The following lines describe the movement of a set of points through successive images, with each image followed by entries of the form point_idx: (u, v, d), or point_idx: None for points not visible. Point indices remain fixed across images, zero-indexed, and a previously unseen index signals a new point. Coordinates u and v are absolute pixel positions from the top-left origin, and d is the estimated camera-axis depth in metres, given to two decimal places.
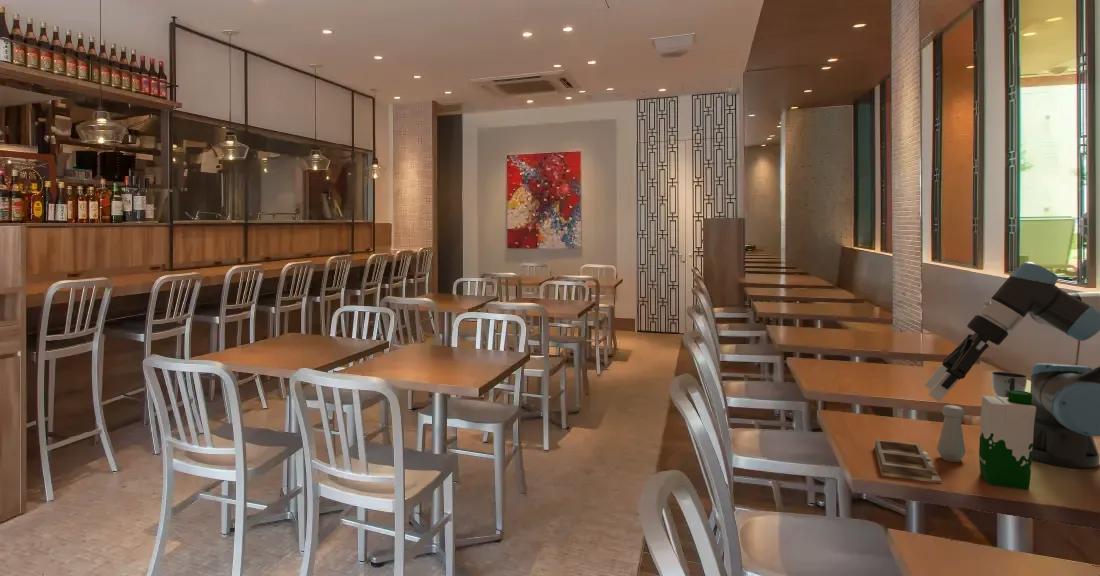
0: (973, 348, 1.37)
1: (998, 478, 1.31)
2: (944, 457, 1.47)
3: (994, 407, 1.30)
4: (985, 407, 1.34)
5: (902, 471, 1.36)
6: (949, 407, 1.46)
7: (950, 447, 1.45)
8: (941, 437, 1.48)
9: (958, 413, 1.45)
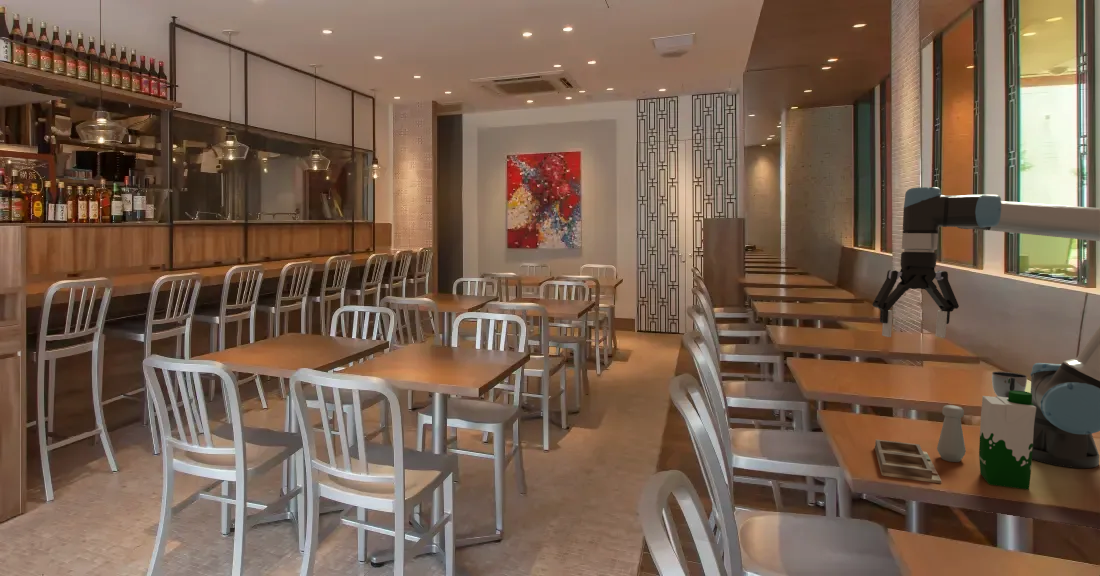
0: (887, 279, 1.51)
1: (998, 478, 1.31)
2: (944, 457, 1.47)
3: (994, 407, 1.30)
4: (985, 407, 1.34)
5: (902, 471, 1.36)
6: (949, 407, 1.46)
7: (950, 447, 1.45)
8: (941, 437, 1.48)
9: (958, 413, 1.45)
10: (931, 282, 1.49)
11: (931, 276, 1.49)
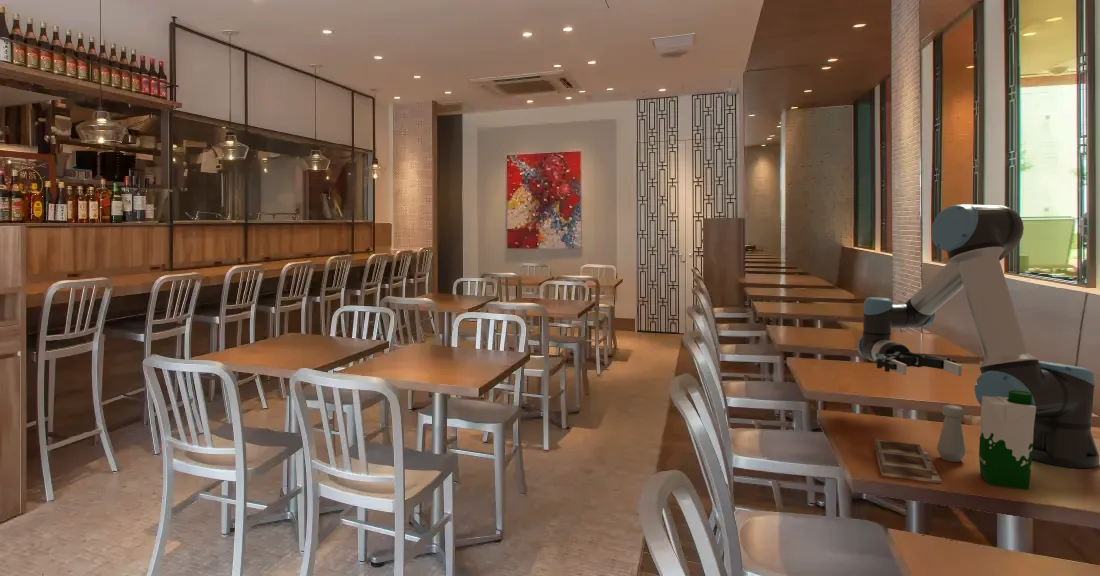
0: None
1: (998, 478, 1.31)
2: (944, 457, 1.47)
3: (994, 407, 1.30)
4: (985, 407, 1.34)
5: (902, 471, 1.36)
6: (949, 407, 1.46)
7: (950, 447, 1.45)
8: (941, 437, 1.48)
9: (958, 413, 1.45)
10: None
11: None
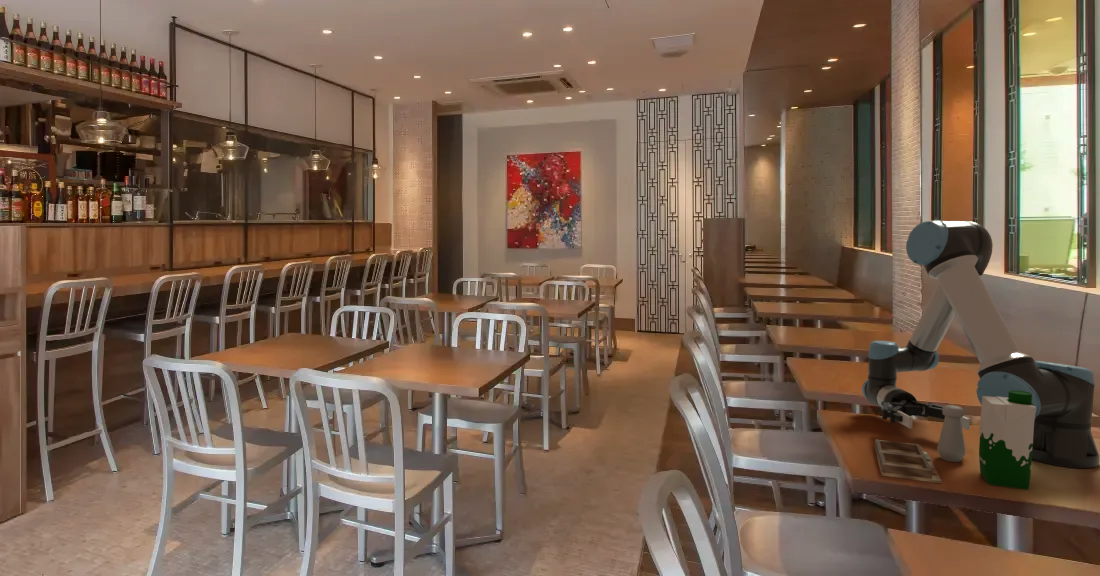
0: None
1: (998, 478, 1.31)
2: (944, 457, 1.47)
3: (994, 407, 1.30)
4: (985, 407, 1.34)
5: (902, 471, 1.36)
6: (949, 407, 1.46)
7: (950, 447, 1.45)
8: (941, 437, 1.48)
9: (958, 413, 1.45)
10: (921, 403, 1.65)
11: None
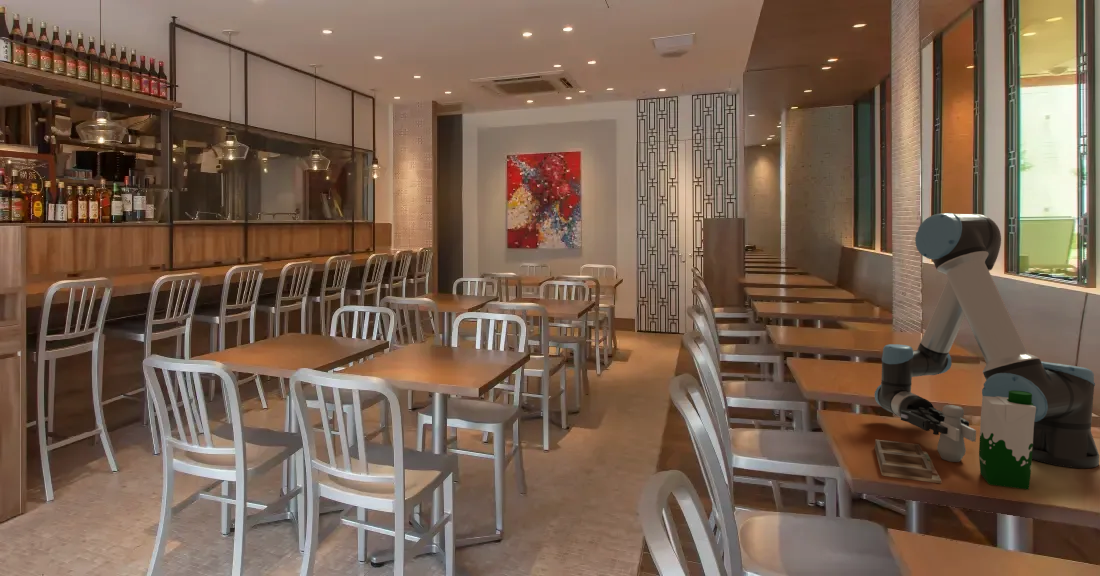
0: (908, 420, 1.56)
1: (998, 478, 1.31)
2: (944, 457, 1.47)
3: (994, 407, 1.30)
4: (985, 407, 1.34)
5: (902, 471, 1.36)
6: (949, 407, 1.46)
7: (950, 446, 1.45)
8: (941, 437, 1.48)
9: (958, 413, 1.45)
10: (936, 410, 1.57)
11: None
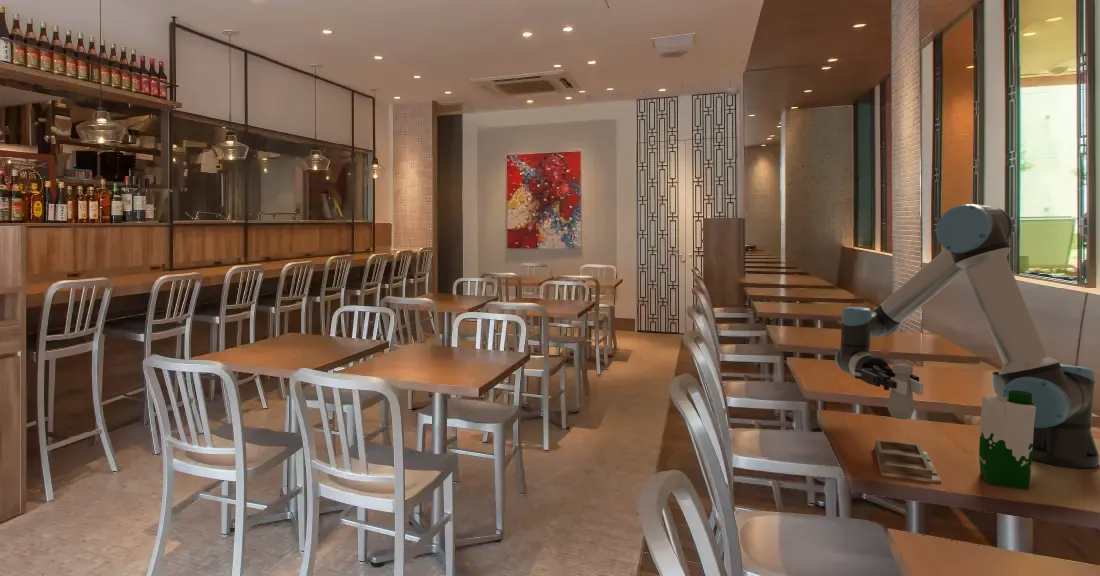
0: (861, 377, 1.57)
1: (998, 478, 1.31)
2: (893, 414, 1.48)
3: (994, 407, 1.30)
4: (985, 407, 1.34)
5: (902, 471, 1.36)
6: (898, 365, 1.47)
7: (897, 404, 1.46)
8: (890, 395, 1.49)
9: (906, 370, 1.46)
10: (890, 368, 1.58)
11: None
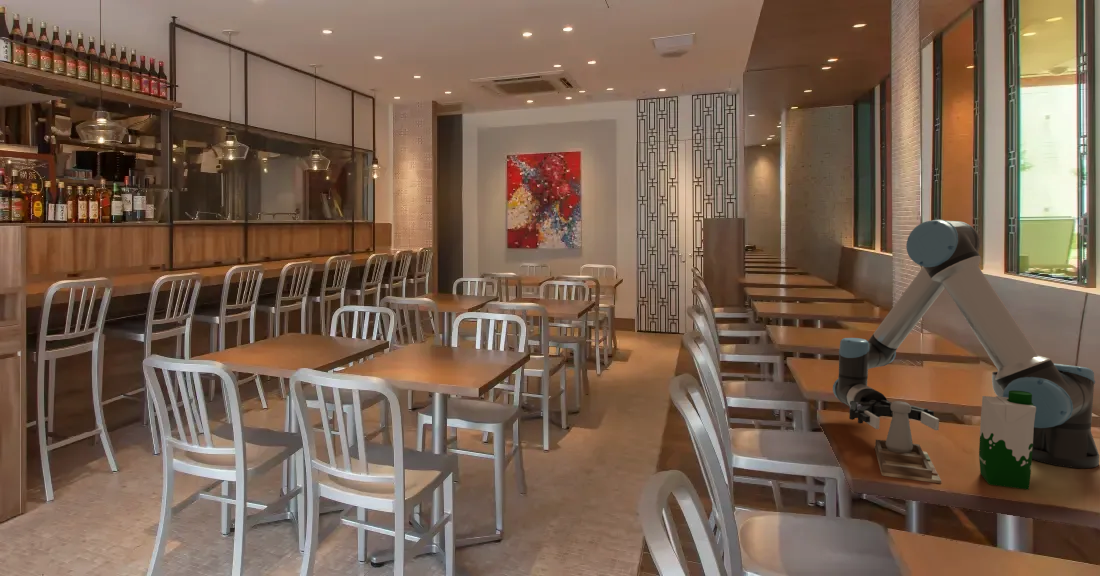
0: None
1: (998, 478, 1.31)
2: None
3: (994, 407, 1.30)
4: (985, 407, 1.34)
5: (902, 471, 1.36)
6: (896, 403, 1.48)
7: (896, 442, 1.47)
8: (889, 432, 1.49)
9: (904, 408, 1.46)
10: (890, 402, 1.58)
11: None
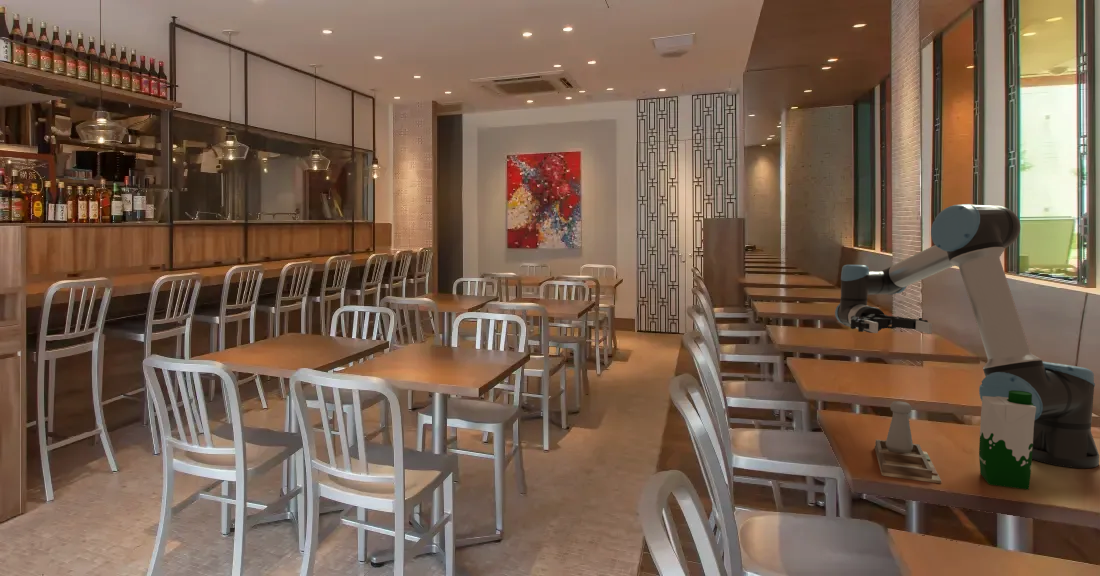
0: None
1: (998, 478, 1.31)
2: None
3: (994, 407, 1.30)
4: (985, 407, 1.34)
5: (902, 471, 1.36)
6: (896, 403, 1.48)
7: (896, 442, 1.47)
8: (889, 432, 1.49)
9: (904, 409, 1.46)
10: None
11: None
